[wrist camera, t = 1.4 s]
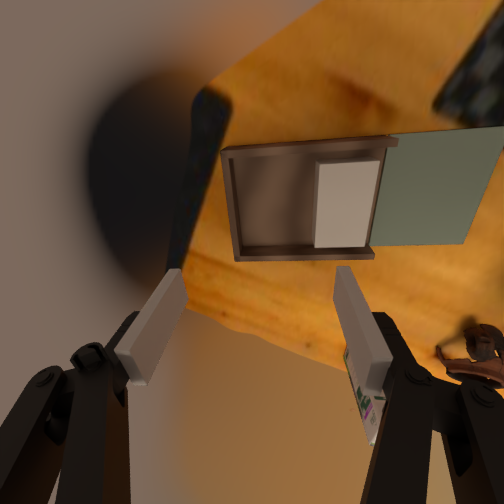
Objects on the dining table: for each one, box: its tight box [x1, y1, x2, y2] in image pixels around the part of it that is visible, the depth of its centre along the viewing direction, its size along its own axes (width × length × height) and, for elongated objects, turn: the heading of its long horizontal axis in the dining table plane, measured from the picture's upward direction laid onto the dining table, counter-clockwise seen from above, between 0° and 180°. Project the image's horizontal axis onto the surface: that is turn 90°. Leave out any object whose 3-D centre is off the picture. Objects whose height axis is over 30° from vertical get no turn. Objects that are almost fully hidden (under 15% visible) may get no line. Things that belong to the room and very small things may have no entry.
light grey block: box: [312, 157, 380, 248], centre depth 28 cm, size 6×10×3 cm, turn 5°
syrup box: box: [344, 346, 386, 446], centre depth 38 cm, size 6×6×14 cm
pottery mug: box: [437, 324, 504, 389], centre depth 39 cm, size 12×10×8 cm
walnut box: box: [220, 135, 399, 262], centre depth 29 cm, size 18×14×4 cm
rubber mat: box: [368, 126, 504, 246], centre depth 29 cm, size 12×14×1 cm
